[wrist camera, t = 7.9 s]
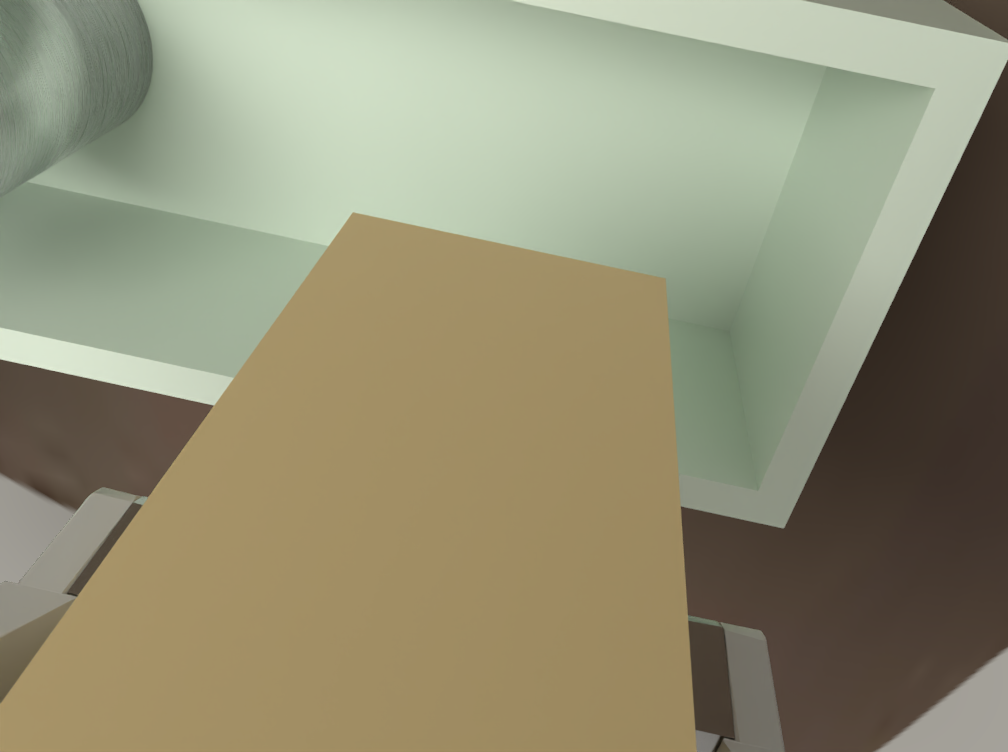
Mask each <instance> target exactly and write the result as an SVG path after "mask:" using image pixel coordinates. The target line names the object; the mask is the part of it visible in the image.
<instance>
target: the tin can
mask: <svg viewBox="0 0 1008 752" xmlns="http://www.w3.org/2000/svg"><path fill="white" fill-rule="evenodd" d="M152 70H153V51H152V43H151V38H150V33H149V29H148V26H147V23H146V20H145V17H144V14H143V12H142V10H141V7H140V5H139V3H138V1H137V0H0V198H1V197H2V196H4V195H5V194H7V193H9V192H10V191H12V190H14V189H15V188H17V187H19V186H20V185H22V184H24V183H25V182H27V181H29V180H30V179H32V178H34V177H35V176H37V175H39V174H40V173H42V172H44V171H45V170H47V169H49V168H50V167H52V166H54V165H55V164H57V163H59V162H60V161H62V160H64V159H65V158H67V157H69V156H70V155H72V154H74V153H75V152H77V151H79V150H80V149H82V148H83V147H85V146H87V145H88V144H90V143H92V142H93V141H95V140H97V139H98V138H100V137H102V136H103V135H105V134H107V133H108V132H110V131H112V130H113V129H115V128H117V127H118V126H120V125H121V124H123V123H124V122H126V121H127V120H128V119H130V118H131V117H132V116H133V115H134V114H135V112H136V111H137V110H138V109H139V107H140V106H141V104H142V103H143V101H144V99H145V97H146V95H147V92H148V89H149V86H150V82H151V77H152Z"/></svg>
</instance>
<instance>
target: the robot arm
mask: <svg viewBox="0 0 1008 752" xmlns="http://www.w3.org/2000/svg"><path fill="white" fill-rule="evenodd" d="M147 499H148V497H144V496H143V497H141V496H137V495H133V494H129V493H125V492H120V491H116V490H112V489H108V488H104V487H102V488H101V489H99V490H97V491H95V492H94V493H92V494H91V495H89V497H88V498H87V499H86V500H85V501H84V503H83V504H82V505H81V506H80V508H79V509H78V510H77V511H76V513H75V514H74V515H73V516H72V518H71V519H70V520H69V521H68V522H67V524H66V525H65V526H64V527H63V529H62V530H61V531H60V532H59V533H58V535H57V536H56V537H55V539H54V540H53V541H52V542H51V543H50V544H49V546H48V547H47V548H46V549H45V551H44V552H43V553H42V554H41V556H40V557H39V558H38V559H37V560H36V562H35V563H34V564H33V565H32V567H31V568H30V569H29V570H28V572H27V573H26V574H25V575H24V577H23V578H22V579H21V580H20V582H19V583H13V582H8V581H4V582H2V583H0V704H1V702H2V701H3V699H4V698H5V697H6V695H7V694H8V692H9V691H10V690H11V688H12V687H13V686H14V684H15V683H16V681H17V680H18V679H19V677H20V676H21V674H22V673H23V672H24V670H25V669H26V667H27V666H28V665H29V663H30V662H31V660H32V659H33V658H34V656H35V655H36V653H37V652H38V651H39V649H40V648H41V646H42V645H43V644H44V642H45V641H46V640H47V638H48V637H49V635H50V634H51V633H52V631H53V630H54V628H55V627H56V626H57V624H58V623H59V621H60V620H61V619H62V617H63V616H64V614H65V613H66V612H67V610H68V609H69V607H70V606H71V605H72V603H73V602H74V600H75V599H76V598H77V596H78V595H79V593H80V592H81V591H82V589H83V588H84V587H85V585H86V584H87V582H88V581H89V580H90V578H91V577H92V575H93V574H94V573H95V571H96V570H97V568H98V567H99V566H100V564H101V563H102V561H103V560H104V559H105V557H106V556H107V554H108V553H109V552H110V550H111V549H112V547H113V546H114V545H115V543H116V542H117V540H118V539H119V538H120V536H121V535H122V534H123V532H124V531H125V529H126V528H127V527H128V525H129V524H130V522H131V521H132V520H133V518H134V517H135V515H136V514H137V513H138V511H139V510H140V508H141V507H142V506H143V504H144V503H145V501H146V500H147ZM688 626H689V642H690V657H691V672H692V687H693V703H694V718H695V733H696V748H697V752H785V749H784V743H783V737H782V731H781V725H780V719H779V713H778V707H777V701H776V695H775V689H774V683H773V677H772V671H771V665H770V659H769V653H768V647H767V641H766V638H765V636H764V634H763V633H762V631H760V630H755V629H751V628H746V627H741V626H736V625H731V624H727V623H722V622H720V623H718V622H717V621H713V620H708V619H703V618H698V617H694V616H689V615H688Z"/></svg>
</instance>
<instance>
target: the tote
mask: <svg viewBox="0 0 1008 752" xmlns="http://www.w3.org/2000/svg"><path fill="white" fill-rule="evenodd" d="M137 1H138V3H139V5H140V7H141V10H142V12H143V14H144V17H145V20H146V23H147V26H148V29H149V33H150V38H151V43H152V51H153V70H152V77H151V82H150V86H149V89H148V92H147V95H146V97H145V99H144V101H143V103H142V104H141V106H140V107H139V109H138V110H137V111H136V112H135V114H134V115H133V116H132V117H131V118H130V119H128V120H127V121H126V122H124V123H123V124H121V125H120V126H118V127H117V128H115V129H113V130H112V131H110V132H108V133H107V134H105V135H103V136H102V137H100V138H98V139H97V140H95V141H93V142H92V143H90V144H88V145H87V146H85V147H83V148H82V149H80V150H79V151H77V152H75V153H74V154H72V155H70V156H69V157H67V158H65V159H64V160H62V161H60V162H59V163H57V164H55V165H54V166H52V167H50V168H49V169H47V170H45V171H44V172H42V173H40V174H39V175H37V176H35V177H34V178H32V179H30V180H29V181H27V182H25V183H24V184H22V185H20V186H19V187H17V188H15V189H14V190H12V191H10V192H9V193H7V194H5V195H4V196H2V197H1V198H0V359H2V360H7V361H11V362H16V363H21V364H25V365H30V366H34V367H39V368H44V369H48V370H53V371H58V372H62V373H67V374H71V375H76V376H81V377H85V378H90V379H95V380H99V381H104V382H108V383H113V384H118V385H122V386H127V387H132V388H136V389H141V390H145V391H150V392H155V393H159V394H164V395H169V396H173V397H178V398H182V399H187V400H192V401H196V402H201V403H206V404H210V405H215V404H216V402H217V401H218V400H219V398H220V397H221V395H222V394H223V393H224V391H225V390H226V388H227V387H228V386H229V384H230V383H231V382H232V380H233V379H234V377H235V376H236V375H237V373H238V372H239V370H240V369H241V368H242V366H243V365H244V363H245V362H246V361H247V359H248V358H249V356H250V355H251V354H252V352H253V351H254V349H255V348H256V347H257V345H258V344H259V342H260V341H261V340H262V338H263V337H264V335H265V334H266V333H267V331H268V330H269V329H270V327H271V326H272V324H273V323H274V322H275V320H276V319H277V317H278V316H279V315H280V313H281V312H282V310H283V309H284V308H285V306H286V305H287V303H288V302H289V301H290V299H291V298H292V296H293V295H294V294H295V292H296V291H297V289H298V288H299V287H300V285H301V284H302V282H303V281H304V280H305V278H306V277H307V276H308V274H309V273H310V271H311V270H312V269H313V267H314V266H315V264H316V263H317V262H318V260H319V259H320V257H321V256H322V255H323V253H324V252H325V250H326V249H327V248H328V246H329V245H330V243H331V242H332V241H333V239H334V238H335V236H336V235H337V234H338V232H339V231H340V229H341V228H342V227H343V225H344V224H345V223H346V221H347V220H348V218H349V217H350V216H351V214H352V213H353V212H354V213H359V214H364V215H368V216H373V217H378V218H383V219H387V220H392V221H397V222H401V223H406V224H411V225H416V226H420V227H425V228H430V229H435V230H439V231H444V232H449V233H453V234H458V235H463V236H468V237H472V238H477V239H482V240H487V241H491V242H496V243H501V244H505V245H510V246H515V247H520V248H524V249H529V250H534V251H539V252H543V253H548V254H553V255H557V256H562V257H567V258H572V259H576V260H581V261H586V262H591V263H595V264H600V265H605V266H609V267H614V268H619V269H624V270H628V271H633V272H638V273H643V274H647V275H652V276H657V277H661V278H666V291H667V306H668V321H669V337H670V352H671V367H672V382H673V398H674V413H675V428H676V443H677V459H678V474H679V489H680V504H681V506H682V507H687V508H691V509H696V510H701V511H705V512H710V513H715V514H719V515H724V516H728V517H733V518H738V519H742V520H747V521H752V522H756V523H761V524H765V525H770V526H775V527H779V528H784V527H785V525H786V523H787V521H788V519H789V517H790V515H791V513H792V511H793V508H794V506H795V504H796V502H797V500H798V498H799V496H800V494H801V492H802V490H803V487H804V485H805V483H806V481H807V479H808V477H809V475H810V473H811V471H812V469H813V467H814V464H815V462H816V460H817V458H818V456H819V454H820V452H821V450H822V448H823V446H824V444H825V441H826V439H827V437H828V435H829V433H830V431H831V429H832V427H833V425H834V423H835V420H836V418H837V416H838V414H839V412H840V410H841V408H842V406H843V404H844V402H845V400H846V397H847V395H848V393H849V391H850V389H851V387H852V385H853V383H854V381H855V379H856V376H857V374H858V372H859V370H860V368H861V366H862V364H863V362H864V360H865V358H866V356H867V353H868V351H869V349H870V347H871V345H872V343H873V341H874V339H875V337H876V335H877V333H878V330H879V328H880V326H881V324H882V322H883V320H884V318H885V316H886V314H887V312H888V309H889V307H890V305H891V303H892V301H893V299H894V297H895V295H896V293H897V291H898V289H899V286H900V284H901V282H902V280H903V278H904V276H905V274H906V272H907V270H908V268H909V265H910V263H911V261H912V259H913V257H914V255H915V253H916V251H917V249H918V247H919V245H920V242H921V240H922V238H923V236H924V234H925V232H926V230H927V228H928V226H929V224H930V221H931V219H932V217H933V215H934V213H935V211H936V209H937V207H938V205H939V203H940V201H941V198H942V196H943V194H944V192H945V190H946V188H947V186H948V184H949V182H950V180H951V178H952V175H953V173H954V171H955V169H956V167H957V165H958V163H959V161H960V159H961V157H962V154H963V152H964V150H965V148H966V146H967V144H968V142H969V140H970V138H971V136H972V134H973V131H974V129H975V127H976V125H977V123H978V121H979V119H980V117H981V115H982V113H983V110H984V108H985V106H986V104H987V102H988V100H989V98H990V96H991V94H992V92H993V90H994V87H995V85H996V83H997V81H998V79H999V77H1000V75H1001V73H1002V71H1003V69H1004V67H1005V64H1006V62H1007V60H1008V40H1007V39H1006V38H1004V37H1002V36H1001V35H999V34H997V33H996V32H994V31H992V30H991V29H989V28H988V27H986V26H984V25H983V24H981V23H979V22H978V21H976V20H974V19H973V18H971V17H970V16H968V15H966V14H965V13H963V12H961V11H960V10H958V9H956V8H955V7H953V6H952V5H950V4H948V3H947V2H945V1H943V0H137Z"/></svg>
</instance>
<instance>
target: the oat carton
mask: <svg viewBox="0 0 1008 752" xmlns="http://www.w3.org/2000/svg"><path fill="white" fill-rule="evenodd" d="M0 752H697V748H696V733H695V718H694V703H693V687H692V672H691V657H690V642H689V626H688V611H687V596H686V581H685V565H684V550H683V535H682V520H681V504H680V489H679V474H678V459H677V443H676V428H675V413H674V398H673V382H672V367H671V352H670V337H669V321H668V306H667V291H666V278H661V277H657V276H652V275H647V274H643V273H638V272H633V271H628V270H624V269H619V268H614V267H609V266H605V265H600V264H595V263H591V262H586V261H581V260H576V259H572V258H567V257H562V256H557V255H553V254H548V253H543V252H539V251H534V250H529V249H524V248H520V247H515V246H510V245H505V244H501V243H496V242H491V241H487V240H482V239H477V238H472V237H468V236H463V235H458V234H453V233H449V232H444V231H439V230H435V229H430V228H425V227H420V226H416V225H411V224H406V223H401V222H397V221H392V220H387V219H383V218H378V217H373V216H368V215H364V214H359V213H354V212H353V213H352V214H351V216H350V217H349V218H348V220H347V221H346V223H345V224H344V225H343V227H342V228H341V229H340V231H339V232H338V234H337V235H336V236H335V238H334V239H333V241H332V242H331V243H330V245H329V246H328V248H327V249H326V250H325V252H324V253H323V255H322V256H321V257H320V259H319V260H318V262H317V263H316V264H315V266H314V267H313V269H312V270H311V271H310V273H309V274H308V276H307V277H306V278H305V280H304V281H303V282H302V284H301V285H300V287H299V288H298V289H297V291H296V292H295V294H294V295H293V296H292V298H291V299H290V301H289V302H288V303H287V305H286V306H285V308H284V309H283V310H282V312H281V313H280V315H279V316H278V317H277V319H276V320H275V322H274V323H273V324H272V326H271V327H270V329H269V330H268V331H267V333H266V334H265V335H264V337H263V338H262V340H261V341H260V342H259V344H258V345H257V347H256V348H255V349H254V351H253V352H252V354H251V355H250V356H249V358H248V359H247V361H246V362H245V363H244V365H243V366H242V368H241V369H240V370H239V372H238V373H237V375H236V376H235V377H234V379H233V380H232V382H231V383H230V384H229V386H228V387H227V388H226V390H225V391H224V393H223V394H222V395H221V397H220V398H219V400H218V401H217V402H216V404H215V405H214V407H213V408H212V409H211V411H210V412H209V414H208V415H207V416H206V418H205V419H204V421H203V422H202V423H201V425H200V426H199V428H198V429H197V430H196V432H195V433H194V434H193V436H192V437H191V439H190V440H189V441H188V443H187V444H186V446H185V447H184V448H183V450H182V451H181V453H180V454H179V455H178V457H177V458H176V460H175V461H174V462H173V464H172V465H171V467H170V468H169V469H168V471H167V472H166V474H165V475H164V476H163V478H162V479H161V481H160V482H159V483H158V485H157V486H156V487H155V489H154V490H153V492H152V493H151V494H150V496H149V497H148V499H147V500H146V501H145V503H144V504H143V506H142V507H141V508H140V510H139V511H138V513H137V514H136V515H135V517H134V518H133V520H132V521H131V522H130V524H129V525H128V527H127V528H126V529H125V531H124V532H123V534H122V535H121V536H120V538H119V539H118V540H117V542H116V543H115V545H114V546H113V547H112V549H111V550H110V552H109V553H108V554H107V556H106V557H105V559H104V560H103V561H102V563H101V564H100V566H99V567H98V568H97V570H96V571H95V573H94V574H93V575H92V577H91V578H90V580H89V581H88V582H87V584H86V585H85V587H84V588H83V589H82V591H81V592H80V593H79V595H78V596H77V598H76V599H75V600H74V602H73V603H72V605H71V606H70V607H69V609H68V610H67V612H66V613H65V614H64V616H63V617H62V619H61V620H60V621H59V623H58V624H57V626H56V627H55V628H54V630H53V631H52V633H51V634H50V635H49V637H48V638H47V640H46V641H45V642H44V644H43V645H42V646H41V648H40V649H39V651H38V652H37V653H36V655H35V656H34V658H33V659H32V660H31V662H30V663H29V665H28V666H27V667H26V669H25V670H24V672H23V673H22V674H21V676H20V677H19V679H18V680H17V681H16V683H15V684H14V686H13V687H12V688H11V690H10V691H9V692H8V694H7V695H6V697H5V698H4V699H3V701H2V702H1V704H0Z"/></svg>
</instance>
